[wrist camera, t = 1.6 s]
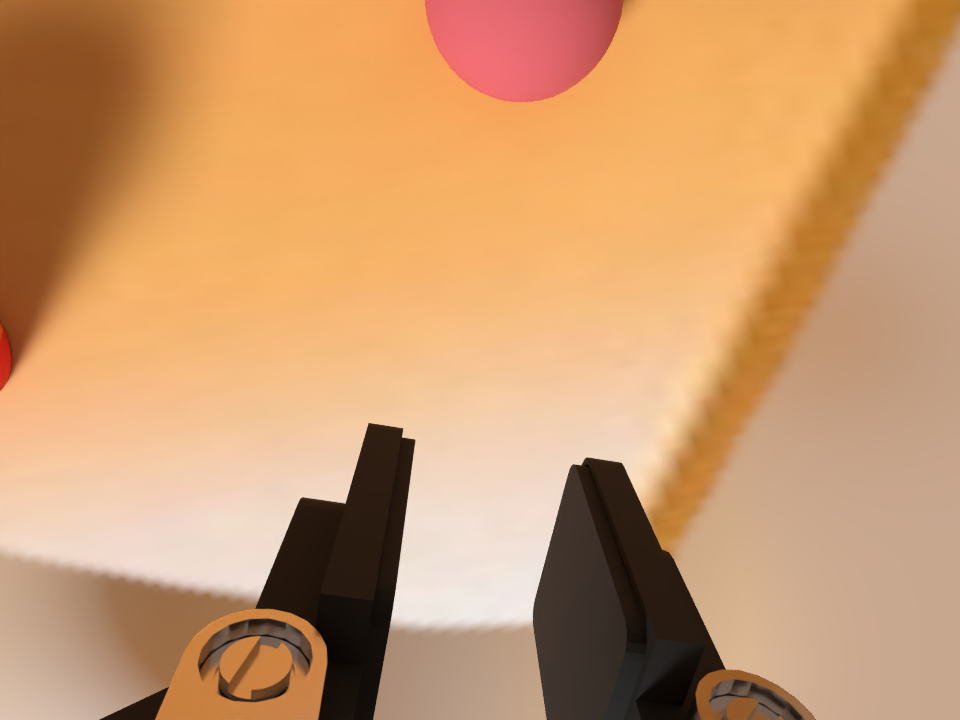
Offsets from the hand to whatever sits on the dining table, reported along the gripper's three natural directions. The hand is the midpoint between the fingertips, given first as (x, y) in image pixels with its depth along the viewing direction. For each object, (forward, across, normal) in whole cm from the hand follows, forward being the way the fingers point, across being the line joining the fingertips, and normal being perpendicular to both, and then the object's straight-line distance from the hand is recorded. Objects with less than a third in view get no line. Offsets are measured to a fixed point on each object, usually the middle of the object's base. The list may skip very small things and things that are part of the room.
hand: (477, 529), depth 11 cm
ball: (+14, 0, -10) cm, 17 cm away
